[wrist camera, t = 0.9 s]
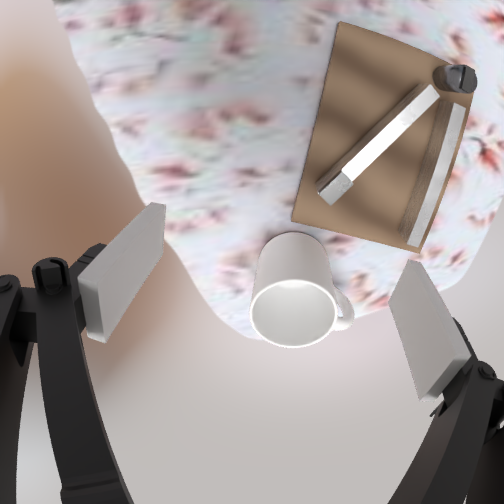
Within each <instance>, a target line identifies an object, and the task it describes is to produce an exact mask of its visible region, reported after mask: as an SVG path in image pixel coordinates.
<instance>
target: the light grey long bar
mask: <svg viewBox="0 0 504 504" xmlns="http://www.w3.org/2000/svg"><path fill="white" fill-rule="evenodd" d="M439 97H440V95H439V94H438V93H437V92H436V90H435V89H434V88H433V87H432V85H431V84H418V85H417V86H416V87H415V88H414V89H413V90H412V91H411V92H410V93H408V94H407V95H406V96H405V97H404V98H403V99H402V100H401V101H400V102H399V103H398V104H397V105H396V106H395V107H394V108H393V109H392V110H391V111H390V112H389V113H388V114H387V115H386V116H385V117H384V118H383V119H381V120H380V121H379V122H378V123H377V124H376V125H375V126H374V127H373V128H372V129H371V130H370V131H369V132H368V133H367V134H366V135H365V136H364V137H363V138H362V139H361V140H360V141H359V142H358V143H357V144H356V145H355V146H354V147H353V148H352V149H350V150H349V151H348V152H347V153H346V154H345V155H344V156H343V157H342V158H341V159H340V160H339V161H338V162H337V163H336V164H335V165H334V166H333V167H332V168H331V169H330V170H329V171H328V172H327V173H326V174H325V175H324V176H323V177H322V178H321V179H320V180H319V181H317V182H316V183H315V185H316V189H317V192H318V194H319V195H320V196H321V197H322V198H323V199H324V200H325V201H326V202H327V203H328V204H329V205H330V206H331V205H332V204H333V203H334V202H335V201H336V200H338V199H339V198H340V197H341V196H342V195H343V194H344V193H345V192H346V191H347V190H348V189H349V188H350V187H351V186H352V185H353V184H354V183H353V182H352V181H353V180H354V179H355V178H356V177H357V176H358V175H359V174H360V173H361V172H362V171H363V170H364V169H365V168H366V167H368V166H369V165H370V164H371V163H372V162H373V161H374V160H375V159H376V158H377V157H378V156H379V155H380V154H381V153H382V152H383V151H384V150H385V149H386V148H387V147H388V146H389V145H391V144H392V143H393V142H394V141H395V140H396V139H397V138H398V137H399V136H400V135H401V134H402V133H403V132H404V131H405V130H406V129H407V128H408V127H409V126H410V125H411V124H412V123H413V122H414V121H415V120H416V119H417V118H418V117H419V116H420V115H422V114H423V113H424V112H425V111H426V110H427V109H428V108H429V107H430V106H431V105H432V104H433V103H434V102H435V101H436V100H437V99H438V98H439Z"/></svg>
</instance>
